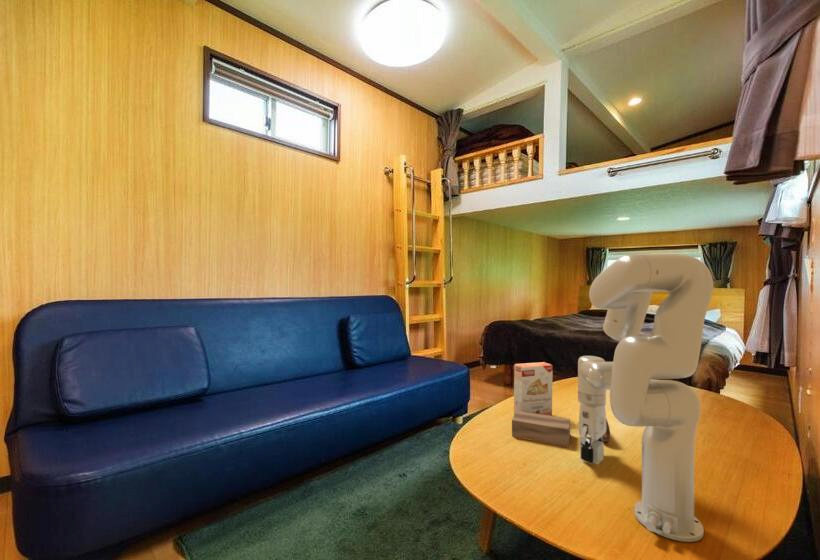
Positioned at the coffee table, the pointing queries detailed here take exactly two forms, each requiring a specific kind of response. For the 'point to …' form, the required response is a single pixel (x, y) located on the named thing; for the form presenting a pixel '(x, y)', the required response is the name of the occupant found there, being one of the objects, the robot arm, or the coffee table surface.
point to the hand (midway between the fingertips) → (591, 455)
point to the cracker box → (533, 388)
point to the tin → (607, 435)
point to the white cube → (596, 451)
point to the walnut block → (541, 428)
